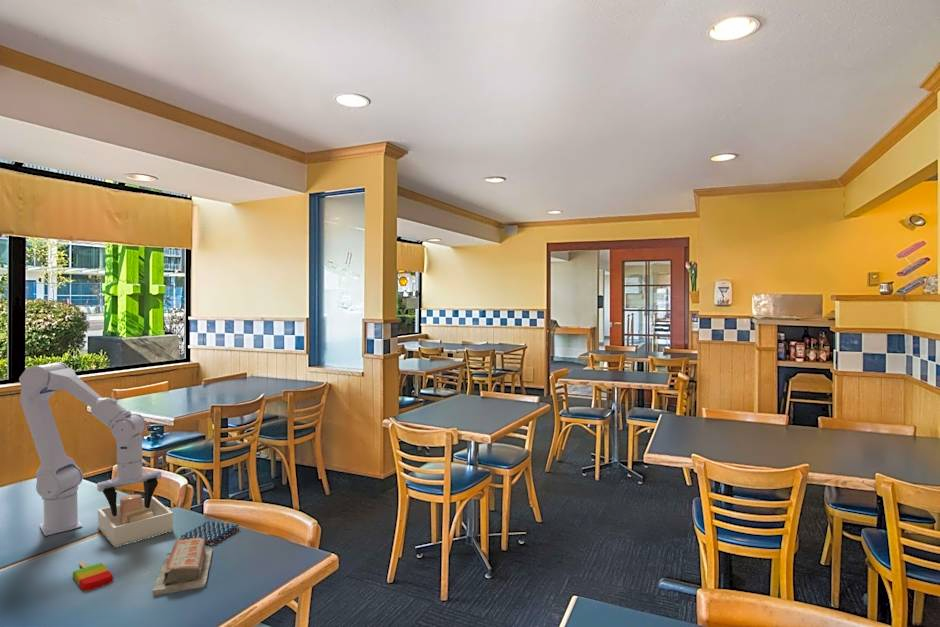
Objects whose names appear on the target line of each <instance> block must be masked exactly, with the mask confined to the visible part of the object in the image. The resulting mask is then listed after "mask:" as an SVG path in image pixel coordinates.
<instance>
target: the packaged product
mask: <svg viewBox="0 0 940 627" xmlns="http://www.w3.org/2000/svg"><path fill="white" fill-rule="evenodd" d="M213 550H214V548H213V547H211V548H210V547H209V548H206V544H205V539H204V538H199V537H196V538H191V539H184V540H181V539H179V540H176V541H175V543H174V545H173V547H172V550H171V552H169V553H166V555H165V557H164V560H163V563H162V565H161V568H160V571H159V573H158V575H157V578H156V580H155V582H154V585H153V587H152V595H153V596H154V597H155V596H161V595H167V594H172V593H177V592H178V593H179V592H185V591H189V590H194V589H201V588H205V587H206V585H207V581H208V574H209V570H210V569H209V568H210V567H211V560H212V557H213ZM166 593H167V594H166Z"/></svg>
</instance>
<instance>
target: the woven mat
mask: <svg viewBox="0 0 940 627" xmlns="http://www.w3.org/2000/svg"><path fill="white" fill-rule="evenodd" d="M239 526H240V524H235V523H225V522H221V521H218V522H216V521H209V520H208V521H205V522H204V523H202V524H200V525H199V526H197V527H195V528H194V529H190V531H189V532H188V531H187V532H186V533H185V534H181V535H180V538H179V540H184V539H191V538H196V537H199V538H204V539H205V543H206V544H208V543H210V544H209V546H210V545H212V544H213V543H216V544H219V542H221V541H220V540H219V539H222V538H224V537H226V538H227V537H228V536H227V535H229V534H230V535H231V533H232V534H234V533H235V532H236V531H238V530H237V529H239V530H240V527H239ZM235 530H236V531H235ZM234 531H235V532H234ZM233 532H234V533H233ZM230 535H229V536H230ZM224 539H225V538H224ZM222 540H223V539H222ZM218 541H219V542H218ZM212 546H213V545H212Z"/></svg>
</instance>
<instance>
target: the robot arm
mask: <svg viewBox="0 0 940 627" xmlns="http://www.w3.org/2000/svg"><path fill="white" fill-rule="evenodd" d="M18 378H19V379H18V381H19V384H20V387H21V389H20V394H19V396H20V397H19V400H20V405H21V407H22V410H23V414H24V416H25V420H26V424H27V426H28V429H29V432H30V435H31V438H32V441H33V443H34V447H35V450H36V452H37V455H38V459H39V462H40V465H39V467H38V468H37V471H36V472H35V479H36V486H35V490H36V492H37V494H38V495H39V497H41V500H42V501H43V523H40V524H39V528H40V529H41V531H42V533H43V535H44V536H45V537H47V536H51V535H54V534H55V535H56V534H59V533H64V532H66V531H71V530H76V529H79V528H82V527H83V524H82V523H81V521H80V520H79V517H78V516H79V510H78V508H79V507H78V490H79V485H81V483H82V482H83V479H84V473H83V471H82V469H81V468H80V467H79V466H78V465H77V464H76V461H75V459H74V458H72V457H71V456H69V455H67V454H66V451H65V448H64V445H63V442H62V439H61V436H60V433H59V430H58V427H57V424H56V420H55V418H54V414H53V412H52V411H53V410H52V409H51V406H50V403H49V400H50V398H51V397H52V395H53V394H54V393H55V391H65V392H66V393H68V394H70V395H71V396H72V397H75V399H78V400H79V401H80V402H82V403H83V404H85V405H86V406H88V407H90V414H91V415H92V416H93V417H94V418H96V419H97V420H98V421H100V422H101V423H103V425H105V426H106V427H108V428H109V429H110V432H111V435H112V437H114V439H115V444H116V465H117V466H116V467H117V468H116V469H117V477H114V478H111V479H107V480H104V481H100V482H97V486H96V487H97V491H98V492H102V493H103V495H104V496H105V498H106V500H107V502H108V504H109V505H108V506H109V507H110V508H111V512H112V515H113V516H117V507H116V505H117V496H118V491H117V490H116V489H115V488H121V487H125V486H129V485H133V484H139V483H143V489H144V490H143V492H144V493H143V494H144V497H143V499H144V505H145V507H146V508H149V507H150V502H151V498H152V497H153V495H154V493H155V490H156V489H157V487H158V485H159V480H161V479H162V471H161V470H153V471H146V472H145V471H144V472H143V439H142V438H143V435H142V434H143V432H144V431H145V430H146V426H147V423H146V420H145V419H144V417H143V416H142V415H141V414H138V413H132V412H131V411H130V410H127V409H125V407H123V406H122V405H120V404H119V403H118V400H117V399H116V398H111V397H102V396H101V395H100V394H98V393H97V392H96V391H95V390H94V389H92V388H91V387H90V386H89V385H88V384H87V383H86V382H85V381H83V380H82V379H81V378H80V377H79V376H78V375H77V374H76V372H75V370H74V369H73V368H71V367H69V366H68V365H67V364H66V363H64V362H60V361H55V362H52V363H45V364H41V365H40V364H39V365H31V366H29V367H27V368H25V369H24V371H23V372H22V373H21V375H20V376H19V377H18Z"/></svg>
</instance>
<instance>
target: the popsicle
mask: <svg viewBox="0 0 940 627" xmlns="http://www.w3.org/2000/svg"><path fill="white" fill-rule="evenodd" d="M78 564H79V566H80V567H81V568H79V569H77V570H76V569H75V570H74V571H73V572H72V578H73V579H74V581H75V580H76V581H75V582H76V583H77V585H78V586H79V587H80V589H81V590H82V591H84V592H88V591H92V590H95V589H97V587H98V588H101V587H103V585H104V586H106V584H107V585H109V584H108V583H110V582H111V583H113V582H114V578H113V574H112V572H110V570H109V569H108V568H107V567H106V566H105V564H104V563H103V562H99V563H96V564H92V565H88V564H87V563H86V562H85V561H84V560H83V561H80V562H79V563H78ZM111 583H110V584H111ZM100 586H101V587H100Z"/></svg>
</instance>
